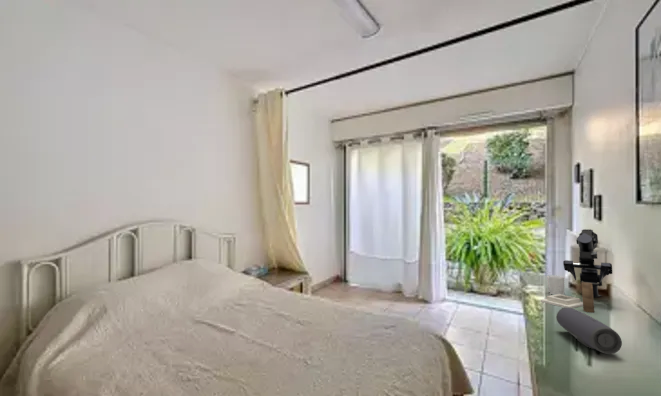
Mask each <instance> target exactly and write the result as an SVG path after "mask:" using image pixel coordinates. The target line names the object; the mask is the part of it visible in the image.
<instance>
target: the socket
mask: <svg viewBox="0 0 661 396" xmlns="http://www.w3.org/2000/svg"><path fill="white" fill-rule="evenodd" d="M540 302H541V303H544V302H545V304H548V305H553V306H556V307H560V308H566V307H567V308H572V309H576V308H580V307H583V301H581V298H579V297H574V296H570V295H565V294H564V295H562V294H556V295H551V294H550V295H546V298H542V299H540Z"/></svg>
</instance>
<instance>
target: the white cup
mask: <svg viewBox="0 0 661 396" xmlns="http://www.w3.org/2000/svg"><path fill="white" fill-rule="evenodd" d="M547 284H548V285H547V286H548V291H549V292H550V293H551V294H555V295H556V294H562V295H565V285H566V284H565V277H564V276H561V275H547ZM550 293H549V294H550ZM551 294H550V295H551Z"/></svg>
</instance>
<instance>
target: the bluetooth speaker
mask: <svg viewBox="0 0 661 396" xmlns="http://www.w3.org/2000/svg"><path fill="white" fill-rule="evenodd" d="M556 321H557V323H558V324H559V325H560V326H561V327H562V328H563V329H564V330H565V331H567V332H568V333H569V334H570V335H571V336H572V337H574V338H575V340H576V339H577V340H576V341H578V342H579V343H580V344H582V345H583V344H584V346H585V347H587V348H588V347H589V348H588V349H590V348H592V349H591V350H593V349H596V350H595V351H598V352H600V353H602V354H605V355H613V354H616V353H617V352H619V351H620V349H621V348H622V345H623V341H622V337H621V335H620V334H619V333H618V332H617V331H615V330H614V329H612V328H611V327H610V326H608V325H607V324H605V323H603V322H601V321H599V320H598V319H596V318H594V317H592V316H590V315H589V314H586V313H584V312H582V311H581V310H578V309H576V308H567V307H566V308H564V307H561V308H560V309H559V310H558V311H557V313H556Z"/></svg>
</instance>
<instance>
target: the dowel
mask: <svg viewBox="0 0 661 396" xmlns="http://www.w3.org/2000/svg"><path fill="white" fill-rule="evenodd" d="M580 286H581V297H582V298H581V299H582V302H583V306H582V308H583V309H582V310H583V312H586V313H591V314H592V313H595V302H594V300H595V298H594V297H593V286H592V283H587V282H583V281H582V283H581V282H580Z"/></svg>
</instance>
